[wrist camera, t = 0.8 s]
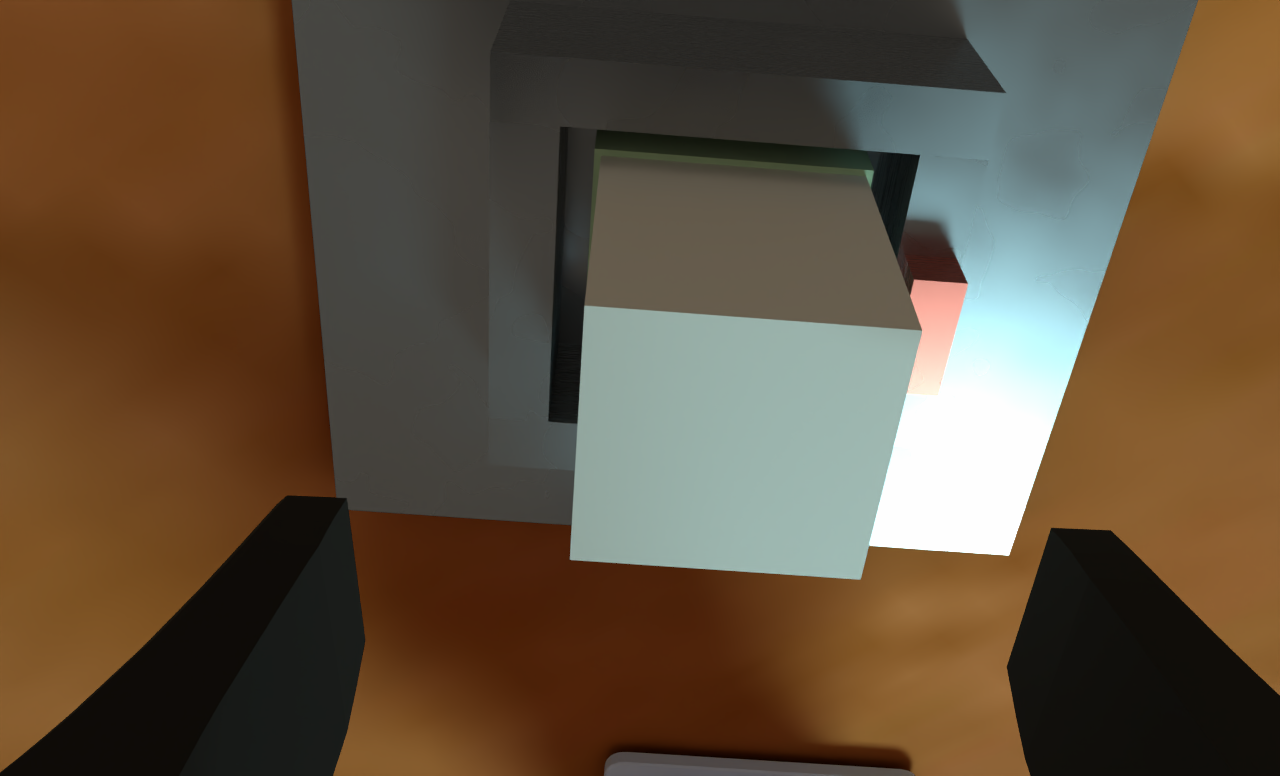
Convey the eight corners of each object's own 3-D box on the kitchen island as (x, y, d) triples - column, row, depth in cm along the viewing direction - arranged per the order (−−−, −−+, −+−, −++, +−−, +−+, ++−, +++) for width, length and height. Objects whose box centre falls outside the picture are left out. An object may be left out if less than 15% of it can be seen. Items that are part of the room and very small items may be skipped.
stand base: (996, 524, 25) (1053, 675, 21) (348, 479, 25) (295, 626, 21) (1231, -191, 17) (1379, -139, 14) (287, -275, 17) (186, -244, 13)
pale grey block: (814, 339, 21) (866, 585, 16) (587, 322, 21) (561, 565, 16) (855, 122, 19) (932, 324, 14) (600, 101, 19) (576, 297, 13)
